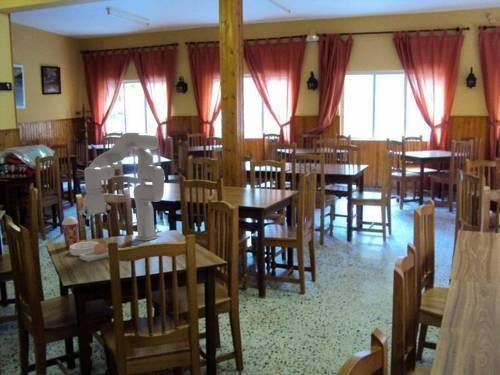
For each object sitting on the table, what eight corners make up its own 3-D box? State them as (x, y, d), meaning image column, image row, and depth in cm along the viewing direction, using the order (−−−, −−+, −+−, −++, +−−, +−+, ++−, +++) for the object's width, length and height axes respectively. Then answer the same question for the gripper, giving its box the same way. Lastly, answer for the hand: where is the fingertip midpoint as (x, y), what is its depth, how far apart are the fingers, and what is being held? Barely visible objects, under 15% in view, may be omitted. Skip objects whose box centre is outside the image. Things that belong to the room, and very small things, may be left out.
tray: (107, 251, 279) (107, 247, 279) (116, 255, 273) (116, 250, 273) (79, 258, 268) (79, 254, 268) (88, 261, 262) (87, 257, 262)
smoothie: (82, 244, 295) (79, 209, 292) (76, 248, 287) (73, 212, 284) (68, 244, 296) (65, 209, 293) (61, 248, 288) (58, 212, 285)
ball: (100, 254, 275) (103, 243, 275) (106, 256, 270) (109, 245, 271) (90, 252, 271) (93, 241, 271) (96, 255, 266) (98, 243, 267)
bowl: (90, 246, 291) (90, 240, 291) (104, 251, 281) (104, 244, 280) (65, 252, 281) (64, 245, 280) (78, 257, 271) (77, 250, 270)
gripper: (105, 188, 274) (108, 220, 277) (74, 193, 262) (77, 226, 265) (112, 189, 269) (115, 222, 272) (81, 195, 257) (84, 229, 260)
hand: (96, 224), depth 268 cm, fingers open, 9 cm apart
